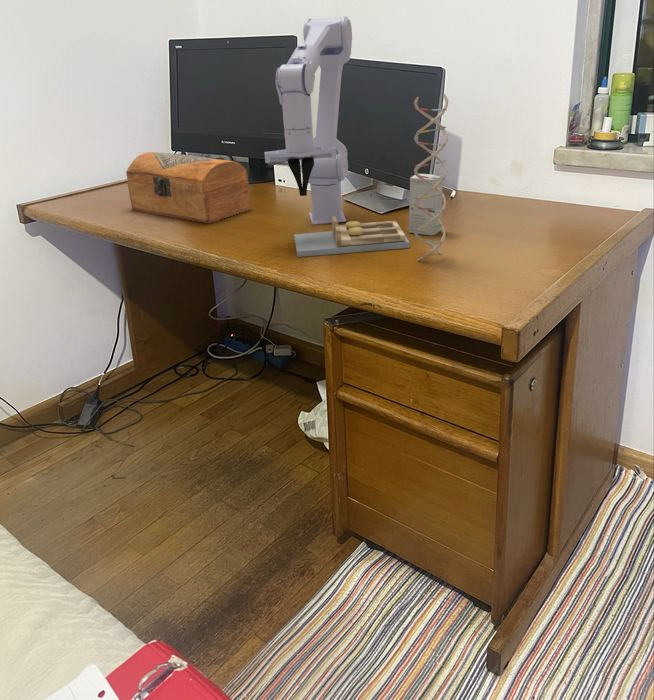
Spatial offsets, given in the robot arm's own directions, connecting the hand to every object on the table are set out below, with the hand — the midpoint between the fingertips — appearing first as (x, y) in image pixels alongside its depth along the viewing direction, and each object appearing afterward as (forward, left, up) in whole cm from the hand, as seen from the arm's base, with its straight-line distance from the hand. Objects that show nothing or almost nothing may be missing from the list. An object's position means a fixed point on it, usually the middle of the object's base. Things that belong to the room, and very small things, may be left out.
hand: (303, 194), depth 145 cm
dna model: (+18, +23, -10) cm, 31 cm away
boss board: (+5, +9, -10) cm, 14 cm away
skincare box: (+1, +26, -10) cm, 28 cm away
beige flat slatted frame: (+5, +13, -8) cm, 16 cm away
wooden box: (-34, -28, -10) cm, 46 cm away
